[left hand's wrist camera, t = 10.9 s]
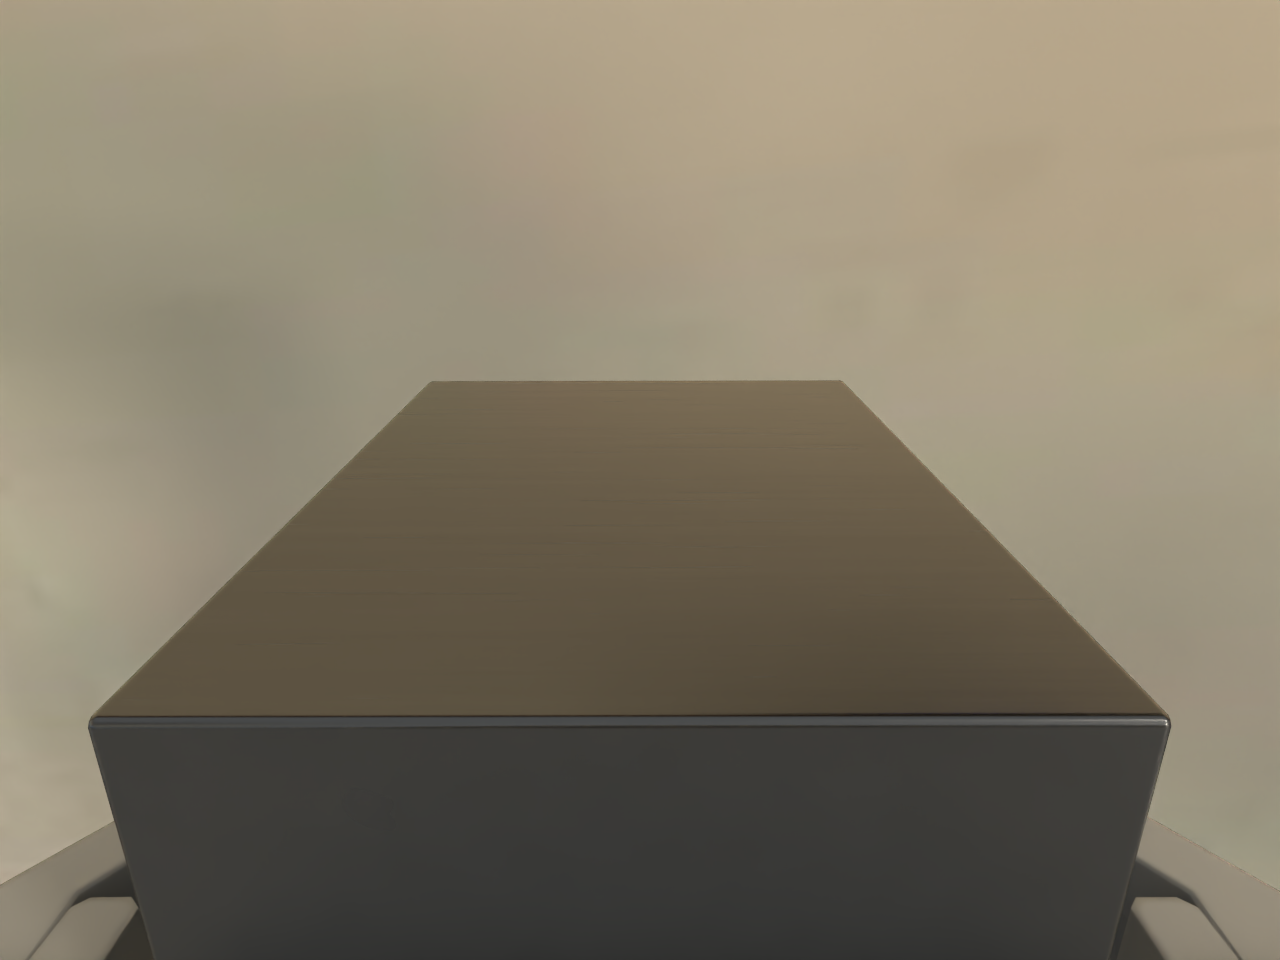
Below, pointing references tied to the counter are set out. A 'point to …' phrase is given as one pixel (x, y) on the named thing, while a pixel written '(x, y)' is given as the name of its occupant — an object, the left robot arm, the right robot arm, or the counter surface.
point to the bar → (631, 704)
